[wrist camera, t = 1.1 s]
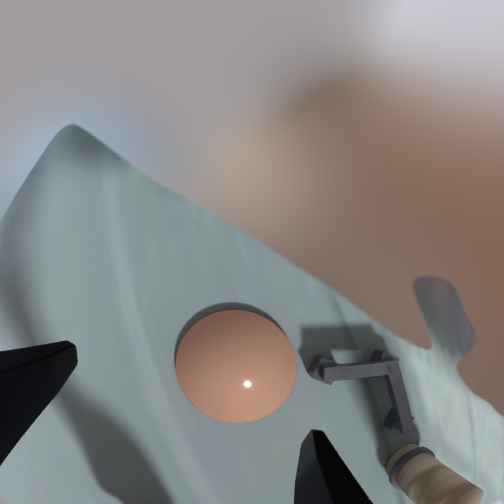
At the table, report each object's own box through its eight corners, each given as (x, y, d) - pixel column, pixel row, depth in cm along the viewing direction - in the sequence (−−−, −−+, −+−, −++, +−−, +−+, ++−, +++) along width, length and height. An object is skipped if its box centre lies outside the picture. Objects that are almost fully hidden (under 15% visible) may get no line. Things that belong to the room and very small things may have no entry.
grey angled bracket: (396, 428, 22) (409, 438, 18) (295, 394, 23) (300, 404, 20) (425, 370, 23) (442, 375, 20) (329, 328, 24) (339, 330, 21)
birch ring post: (405, 480, 20) (458, 530, 7) (373, 476, 20) (423, 537, 7) (430, 443, 21) (495, 483, 8) (399, 437, 21) (466, 487, 9)
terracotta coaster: (261, 437, 22) (261, 439, 21) (159, 386, 23) (157, 388, 23) (315, 341, 24) (316, 341, 23) (209, 288, 25) (208, 288, 25)
